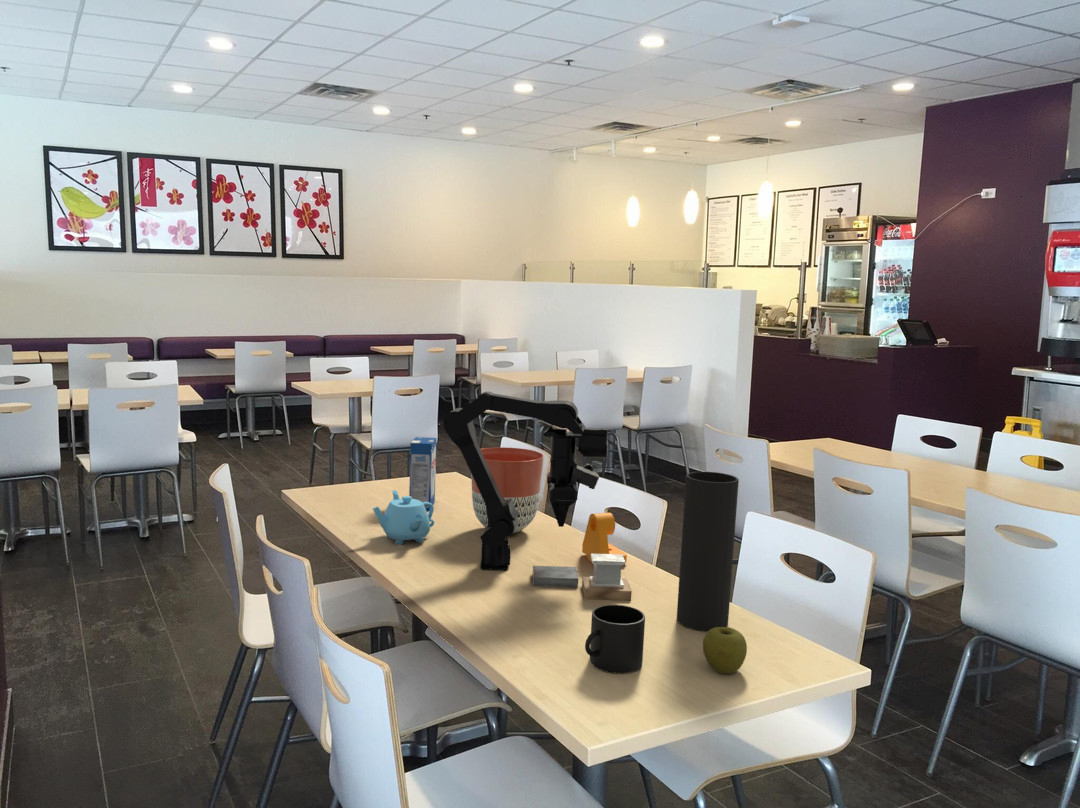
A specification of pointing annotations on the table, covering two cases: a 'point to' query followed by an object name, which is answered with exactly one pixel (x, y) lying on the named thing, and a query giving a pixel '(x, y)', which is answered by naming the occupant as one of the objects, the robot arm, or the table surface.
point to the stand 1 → (555, 576)
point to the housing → (607, 571)
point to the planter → (512, 482)
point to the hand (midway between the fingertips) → (560, 521)
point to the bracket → (600, 536)
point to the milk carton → (423, 470)
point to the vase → (707, 550)
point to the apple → (724, 649)
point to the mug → (616, 638)
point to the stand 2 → (606, 591)
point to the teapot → (405, 519)
